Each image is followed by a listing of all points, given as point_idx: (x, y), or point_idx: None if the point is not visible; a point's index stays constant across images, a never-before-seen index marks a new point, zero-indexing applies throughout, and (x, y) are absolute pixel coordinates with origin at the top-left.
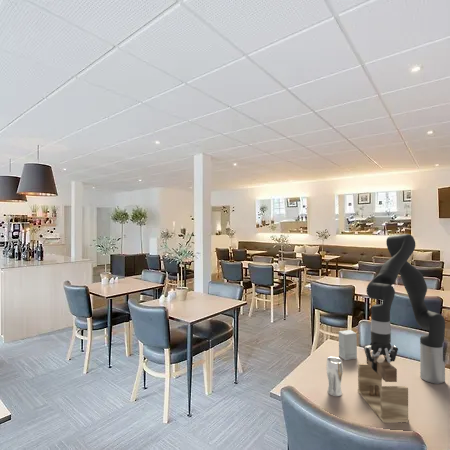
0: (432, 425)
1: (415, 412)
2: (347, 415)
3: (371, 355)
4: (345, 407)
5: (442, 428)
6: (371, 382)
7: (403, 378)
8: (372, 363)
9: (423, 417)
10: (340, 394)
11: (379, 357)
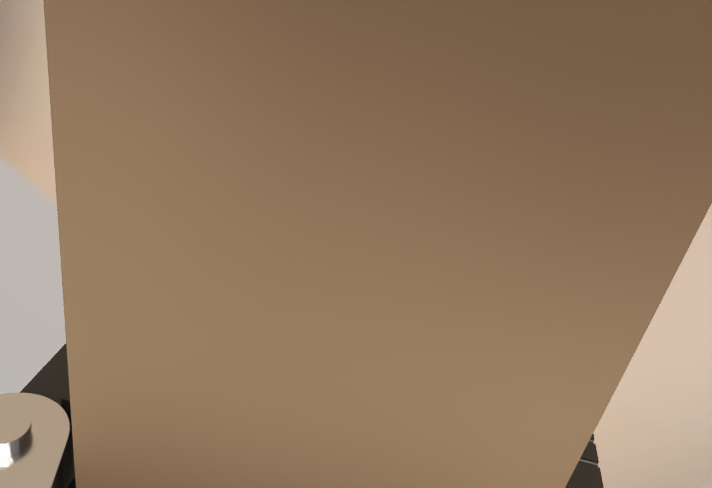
0: (642, 439)
1: (688, 286)
2: (12, 151)
3: (123, 159)
4: (32, 34)
5: (683, 480)
6: None
7: None
8: (59, 393)
9: (682, 357)
10: None
11: (401, 445)
